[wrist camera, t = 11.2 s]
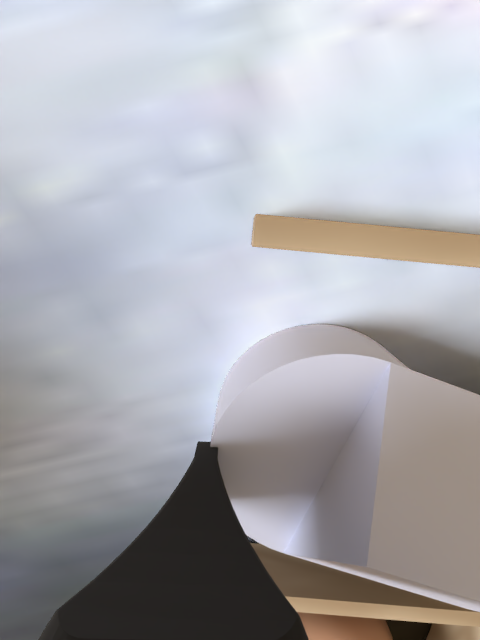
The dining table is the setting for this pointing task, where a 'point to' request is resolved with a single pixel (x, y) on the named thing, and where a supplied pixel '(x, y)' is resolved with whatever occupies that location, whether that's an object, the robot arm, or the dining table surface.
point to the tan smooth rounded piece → (344, 627)
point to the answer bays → (318, 580)
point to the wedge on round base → (354, 461)
